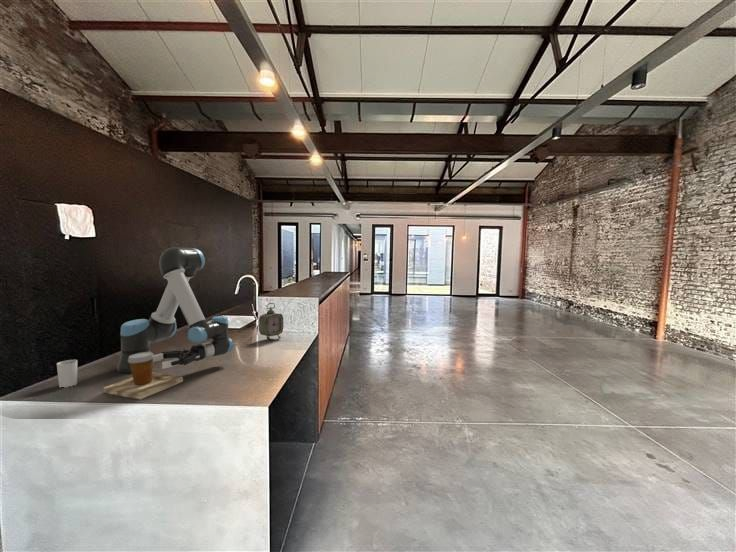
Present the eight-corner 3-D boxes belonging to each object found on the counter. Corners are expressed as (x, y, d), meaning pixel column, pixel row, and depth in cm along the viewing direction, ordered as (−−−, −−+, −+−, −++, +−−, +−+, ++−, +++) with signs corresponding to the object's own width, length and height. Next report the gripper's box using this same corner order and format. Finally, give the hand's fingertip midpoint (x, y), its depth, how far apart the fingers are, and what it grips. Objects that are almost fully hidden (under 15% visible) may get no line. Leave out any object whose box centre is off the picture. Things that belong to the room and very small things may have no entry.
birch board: (103, 392, 138) (103, 387, 138) (149, 376, 157) (148, 371, 157) (140, 399, 132) (140, 393, 131) (183, 381, 151) (182, 376, 150)
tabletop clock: (266, 343, 220) (266, 304, 218) (257, 341, 224) (257, 303, 223) (283, 338, 232) (283, 302, 230) (274, 336, 237) (274, 301, 235)
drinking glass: (67, 382, 149) (66, 359, 149) (82, 382, 149) (81, 359, 148) (53, 387, 142) (52, 364, 142) (68, 388, 142) (67, 364, 142)
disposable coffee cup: (141, 387, 140) (138, 359, 139) (124, 385, 143) (121, 357, 142) (161, 379, 149) (159, 352, 148) (145, 377, 152) (142, 351, 151)
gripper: (217, 363, 157) (169, 376, 140) (188, 355, 171) (141, 365, 154) (216, 347, 157) (168, 359, 139) (187, 340, 171) (141, 349, 153)
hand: (154, 362), depth 146 cm, fingers open, 13 cm apart
